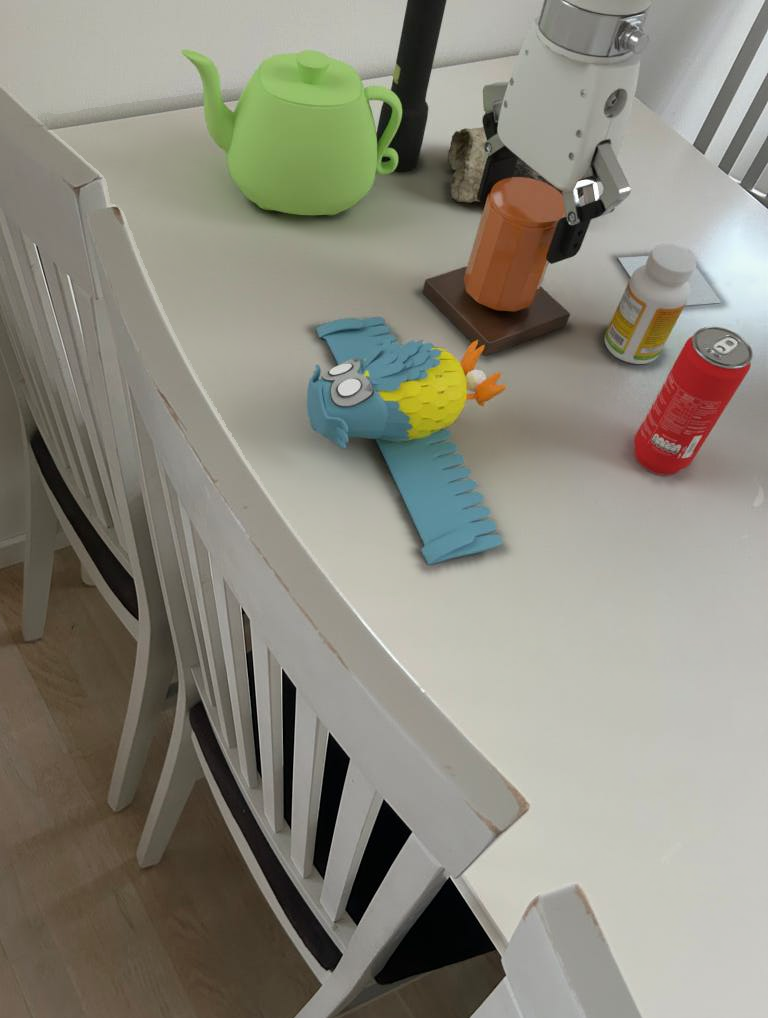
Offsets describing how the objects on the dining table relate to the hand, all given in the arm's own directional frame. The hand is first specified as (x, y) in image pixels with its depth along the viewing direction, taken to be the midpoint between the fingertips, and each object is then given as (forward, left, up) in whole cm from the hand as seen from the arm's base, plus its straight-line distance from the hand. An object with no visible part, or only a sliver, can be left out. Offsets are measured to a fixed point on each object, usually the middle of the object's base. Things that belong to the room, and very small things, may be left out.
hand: (525, 227), depth 87 cm
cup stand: (0, 0, -9) cm, 9 cm away
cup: (0, 0, -6) cm, 6 cm away
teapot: (+8, -25, -9) cm, 28 cm away
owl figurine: (+19, +9, -9) cm, 23 cm away
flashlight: (-6, -25, -9) cm, 27 cm away
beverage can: (-1, +22, -9) cm, 24 cm away
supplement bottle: (-9, +10, -9) cm, 16 cm away
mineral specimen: (-15, -15, -9) cm, 23 cm away
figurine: (-20, +4, -9) cm, 22 cm away
